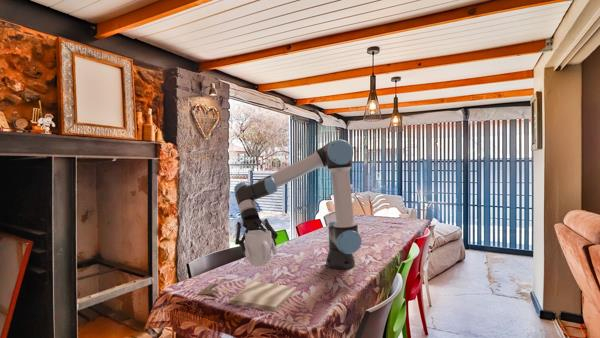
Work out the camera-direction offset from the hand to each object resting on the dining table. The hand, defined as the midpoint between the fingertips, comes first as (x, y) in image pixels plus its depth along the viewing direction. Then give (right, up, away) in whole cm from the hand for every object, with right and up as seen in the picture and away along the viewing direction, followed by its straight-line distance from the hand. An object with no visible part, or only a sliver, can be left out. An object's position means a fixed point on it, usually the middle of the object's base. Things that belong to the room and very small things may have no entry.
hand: (262, 255), depth 131 cm
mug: (-1, -5, +3) cm, 5 cm away
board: (+1, -17, +1) cm, 17 cm away
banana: (-20, -18, +12) cm, 29 cm away
